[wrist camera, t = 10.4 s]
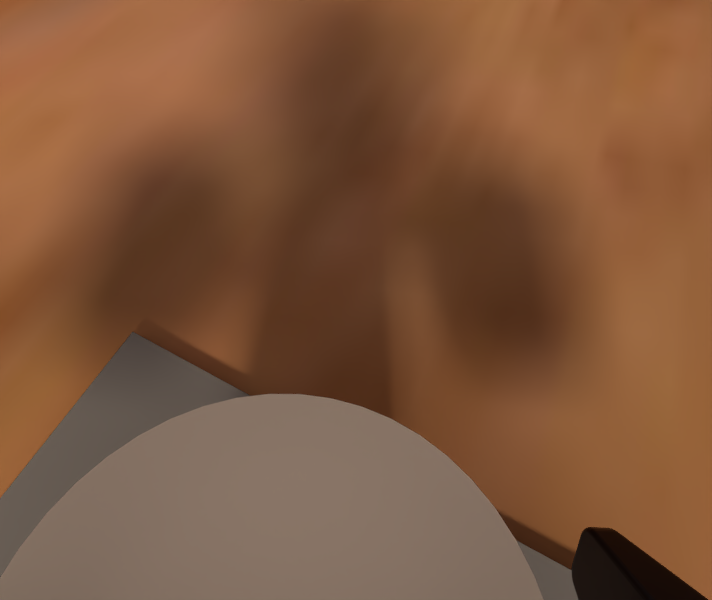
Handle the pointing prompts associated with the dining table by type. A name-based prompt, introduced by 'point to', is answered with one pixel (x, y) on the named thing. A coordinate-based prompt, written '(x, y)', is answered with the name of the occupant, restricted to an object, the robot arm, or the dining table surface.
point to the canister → (273, 515)
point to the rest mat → (130, 419)
